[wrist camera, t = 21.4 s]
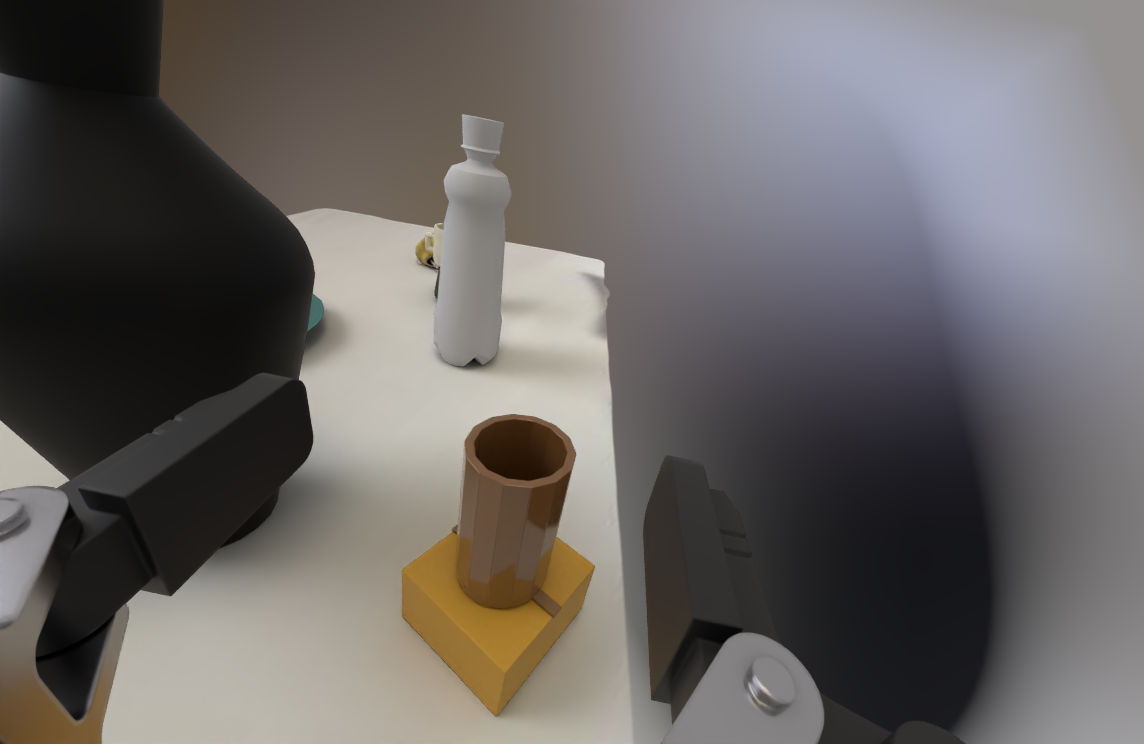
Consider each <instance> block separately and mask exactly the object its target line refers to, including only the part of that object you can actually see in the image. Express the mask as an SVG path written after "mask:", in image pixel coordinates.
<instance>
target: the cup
mask: <svg viewBox="0 0 1144 744" xmlns="http://www.w3.org/2000/svg"><path fill="white" fill-rule="evenodd" d="M575 457H576V452H575V449H574V447H573V444H572V442H571V439H570V438H569V437H568V436H567V435H566V434H565V433H564V432H563V431H562V430H560V429H559V428H558V427H557V426H556V425H554V424H552V423H549V422H547V421H544V420H542V419H539V418H537V417H533V416H525V415H517V414H510V415H503V416H496V417H492V418H489V419H487V420H485V421H484V422H482V423H480V424H478V425H476V426H475V427H474V428H473V429H472V431H471V432H470V434H469V435H468V437H467V438H466V440H465V443H464V455H463V467H462V480H461V492H460V505H459V517H458V530H457V542H456V554H455V555H456V564H455V571H456V576H457V580H458V582H459V584H460V586H461V588H462V589H463V591H464V592H465V593H466V594H467V595H468V596H469V597H470V598H472V599H473V600H474V601H476V602H478V603H480V604H482V605H485V606H488V607H494V608H509V607H514V606H517V605H520V604H522V603H524V602H526V601H528V600H529V599H531V598H532V597H533V596H534V595H535V594H536V593H537V592H538V591H539V590H540V589H541V587H542V585H543V584H544V581H545V579H546V575H547V571H548V568H549V564H550V560H551V556H552V552H553V547H554V543H555V539H556V535H557V531H558V527H559V523H560V519H561V515H562V511H563V507H564V502H565V498H566V494H567V490H568V486H569V482H570V478H571V474H572V470H573V466H574V461H575Z"/></svg>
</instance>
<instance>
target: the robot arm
mask: <svg viewBox="0 0 1144 744" xmlns="http://www.w3.org/2000/svg"><path fill="white" fill-rule="evenodd" d="M312 445H313V431H312V424H311V418H310V412H309V405H308V399H307V392H306V388H305V385H304V384H303V382H302V381H300V380H298V379H293V378H288V377H283V376H278V375H273V374H268V373H259V374H257V375H255V376H253V377H251V378H250V379H248V380H247V381H245V382H244V383H242V384H240V385H239V386H237V387H236V388H234V389H232V390H229V391H227V392H224V393H221V394H218V395H215V396H213V397H210V398H207V399H204V400H201V401H199V402H197V403H196V404H194V405H193V406H191V407H189V408H188V409H186V410H184V411H183V412H181V413H179V414H178V415H176V416H175V418H174V420H168V421H166V422H165V423H163V424H161V425H160V426H158V427H157V428H155V429H153V433H147V434H145V435H143V436H142V437H140V438H139V439H137V440H135V441H134V442H132V443H130V444H129V445H127V446H126V447H124V448H122V449H121V450H119V451H117V452H116V453H114V454H112V455H111V456H109V457H108V458H106V459H104V460H103V461H101V462H99V463H98V464H96V465H94V466H93V467H91V468H90V469H88V470H86V471H85V472H83V473H81V474H80V475H78V476H76V477H75V478H73V479H72V480H70V481H68V482H67V483H65V484H63V485H62V486H60V487H58V488H53V487H47V486H28V487H20V488H13V489H8V490H4V491H0V744H102V726H103V721H104V717H105V713H106V709H107V704H108V700H109V696H110V692H111V688H112V684H113V680H114V676H115V672H116V668H117V664H118V659H119V655H120V651H121V647H122V643H123V639H124V635H125V631H126V627H127V623H128V619H129V608H128V606H127V604H126V603H127V602H128V601H129V600H130V599H131V598H132V597H133V596H134V595H135V594H136V593H137V592H138V591H140V590H143V591H148V592H153V593H158V594H162V595H167V596H172V595H173V594H174V593H175V592H176V591H177V590H178V589H179V588H180V587H181V586H182V585H183V584H184V583H185V582H186V581H187V580H188V579H189V578H190V577H191V576H192V575H193V574H194V573H195V572H196V571H197V570H198V569H199V568H200V567H201V566H202V565H203V564H204V563H205V562H206V561H207V560H208V559H209V558H210V557H211V556H212V555H213V554H214V553H215V552H216V551H217V550H218V549H219V548H220V547H221V546H222V545H223V544H224V543H225V542H226V541H227V540H228V539H229V538H230V537H231V536H232V535H233V534H234V533H235V532H236V531H237V530H238V529H239V528H240V527H241V526H242V525H243V524H244V523H245V522H246V521H247V520H248V519H249V518H250V517H251V516H252V515H253V514H254V513H255V512H256V511H257V510H258V509H259V508H260V507H261V506H262V505H263V504H264V503H265V502H266V501H267V500H268V499H269V498H270V497H271V496H272V495H273V494H274V493H275V492H276V491H277V490H278V489H279V488H280V487H281V486H282V485H283V483H284V482H285V481H286V480H287V479H288V478H289V477H290V476H291V475H292V474H293V473H294V472H295V471H296V470H297V469H298V468H299V467H300V466H301V465H302V464H303V463H304V462H305V461H306V459H307V458H308V456H309V454H310V451H311V449H312ZM643 539H644V561H645V580H646V581H645V582H646V602H647V623H648V642H649V643H648V644H649V665H650V686H651V700H654V701H658V702H663V703H668V704H671V715H672V727H671V728H670V730H669V732H668V733H667V735H666V736H665V738H664V740H663V741H662V742H661V744H965V743H964V742H963V741H961V740H960V739H959V738H957V737H956V736H954V735H953V734H951V733H949V732H948V731H946V730H944V729H942V728H940V727H938V726H936V725H933V724H930V723H927V722H922V721H909V722H906V723H904V724H903V725H901V726H900V727H899V728H898V729H897V730H896V731H894V732H893V733H890V732H889V731H887V730H885V729H883V728H881V727H879V726H878V725H876V724H874V723H872V722H870V721H868V720H866V719H865V718H863V717H861V716H859V715H857V714H856V713H854V712H852V711H850V710H848V709H846V708H844V707H843V706H841V705H839V704H837V703H835V702H834V701H832V700H830V699H829V698H827V697H826V696H824V695H823V694H822V693H820V692H819V691H818V689H817V687H816V685H815V682H814V681H813V679H812V677H811V676H810V674H809V672H808V671H807V670H806V669H805V667H804V666H803V665H802V663H801V662H800V661H799V660H798V659H797V658H796V657H795V656H794V655H793V654H792V653H791V652H789V650H787V649H786V648H785V647H783V646H782V645H781V644H780V641H779V639H778V636H777V633H776V630H775V626H774V623H773V620H772V616H771V613H770V610H769V607H768V604H767V601H766V597H765V594H764V591H763V587H762V584H761V581H760V578H759V574H758V571H757V568H756V565H755V562H754V559H752V552H751V549H750V545H749V542H748V539H746V533H745V529H744V526H743V523H742V520H741V517H740V513H739V512H738V511H737V509H736V507H735V506H734V505H733V503H732V502H731V501H730V499H729V498H728V497H727V495H726V494H725V493H724V492H723V491H718V490H714V489H709V485H708V481H707V477H706V473H705V469H704V465H703V464H702V463H701V462H697V461H692V460H687V459H683V458H678V457H673V456H666V457H665V458H664V460H663V463H662V465H661V468H660V471H659V474H658V477H657V479H656V482H655V485H654V488H653V491H652V494H651V497H650V499H649V502H648V505H647V509H646V513H645V520H644V528H643Z"/></svg>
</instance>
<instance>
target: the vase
mask: <svg viewBox="0 0 1144 744" xmlns="http://www.w3.org/2000/svg"><path fill="white" fill-rule="evenodd" d="M163 1H164V0H0V420H1V421H2V422H3V423H4V424H5V425H6V426H8V427H9V428H10V429H11V430H12V431H13V432H15V433H16V434H17V435H18V436H19V437H20V438H22V439H23V440H24V441H25V442H26V443H27V444H29V445H30V446H31V447H32V448H33V449H34V450H35V451H37V452H38V453H39V454H40V455H41V456H42V457H44V458H45V459H46V460H47V461H48V462H49V463H51V464H52V465H53V466H54V467H55V468H56V469H58V470H59V471H60V472H61V473H62V474H63V475H65V476H66V477H67V478H68V479H69V480H72V479H73V478H75V477H76V476H78V475H80V474H81V473H83V472H85V471H86V470H88V469H90V468H91V467H93V466H94V465H96V464H98V463H99V462H101V461H103V460H104V459H106V458H108V457H109V456H111V455H112V454H114V453H116V452H117V451H119V450H121V449H122V448H124V447H126V446H127V445H129V444H130V443H132V442H134V441H135V440H137V439H139V438H140V437H142V436H143V435H145V434H147V433H153V429H155V428H157V427H158V426H160V425H161V424H163V423H165V422H166V421H168V420H174V418H175V416H176V415H178V414H179V413H181V412H183V411H184V410H186V409H188V408H189V407H191V406H193V405H194V404H196V403H197V402H199V401H201V400H204V399H207V398H210V397H213V396H215V395H218V394H221V393H224V392H227V391H229V390H232V389H234V388H236V387H237V386H239V385H240V384H242V383H244V382H245V381H247V380H248V379H250V378H251V377H253V376H255V375H257V374H259V373H268V374H273V375H278V376H283V377H288V378H293V379H298V380H299V375H300V369H301V364H302V358H303V352H304V347H305V341H306V335H307V330H308V324H309V317H310V309H311V302H312V294H313V286H314V278H315V271H314V265H313V260H312V257H311V255H310V252H309V249H308V247H307V245H306V242H305V241H304V239H303V237H302V236H301V234H300V232H299V231H298V229H297V228H296V227H295V226H294V225H293V224H292V222H291V221H290V220H289V219H288V218H287V217H286V216H285V215H284V214H283V213H282V212H281V211H280V210H279V209H278V208H277V207H276V206H275V205H273V204H272V203H271V202H270V201H269V200H268V199H267V198H266V197H264V196H263V195H262V194H261V193H259V192H258V191H257V190H256V189H255V188H254V187H253V186H251V185H250V184H249V183H248V182H247V181H246V180H244V179H243V178H242V177H241V176H240V175H239V174H237V173H236V172H235V171H234V170H233V169H232V168H231V167H230V166H229V165H227V164H226V163H225V162H224V161H223V160H222V159H221V158H220V157H219V156H218V155H217V154H216V153H215V152H214V151H213V150H212V149H210V147H208V146H207V145H206V144H205V143H204V142H203V141H202V140H201V139H200V138H199V137H198V136H197V135H196V134H195V133H194V132H193V131H192V130H191V129H190V128H189V127H188V126H187V125H186V124H185V123H184V122H183V121H182V120H181V119H180V118H179V117H178V116H177V115H176V114H175V113H174V112H173V111H172V110H171V109H170V108H169V107H168V106H167V105H166V103H164V101H163V100H162V99H161V98H160V97H159V79H160V59H161V40H162V20H163ZM278 493H279V489H278V490H277V491H276V492H275V493H274V494H273V495H272V496H271V497H270V498H269V499H268V500H267V501H266V502H265V503H264V504H263V505H262V506H261V507H260V508H259V509H258V510H257V511H256V512H255V513H254V514H253V515H252V516H251V517H250V518H249V519H248V520H247V521H246V522H245V523H244V524H243V525H242V526H241V527H240V528H239V529H238V530H237V531H236V532H235V533H234V534H233V535H232V536H231V537H230V538H229V539H228V540H227V541H226V542H225V543H224V544H223V545H222V546H221V547H224V546H226V545H228V544H230V543H233V542H235V541H237V540H240V539H241V538H243V537H244V536H246V535H247V534H249V533H250V532H252V531H253V530H255V529H256V528H258V527H259V526H260V525H261V524H262V523H263V522H264V521H265V520H266V519H267V518H268V517H269V516H270V515H271V513H272V511H273V509H274V507H275V505H276V503H277V498H278ZM221 547H220V548H221Z"/></svg>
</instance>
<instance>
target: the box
mask: <svg viewBox="0 0 1144 744" xmlns="http://www.w3.org/2000/svg"><path fill="white" fill-rule="evenodd" d="M457 530H458V525H456V526H455V527H454V528H452V531H453V532H452V533H451V534H450V535H448V536H447V537H446V538H444V539H443V540H442V541H440V542H439V543H438V544H436V545H435V546H433V547H432V548H431V549H429V550H428V551H427V552H425V553H424V554H423V555H421V556H420V557H419V558H417V559H416V560H414V561H413V562H412V563H410V564H409V565H408V566H406V567H405V568H404V569H402V616H403V617H404V618H405V619H406V620H407V621H408V622H409V624H410V625H411V626H412V627H413V628H414V629H415V630H416V631H417V632H418V633H419V634H420V635H421V636H422V638H423V639H424V640H425V641H426V642H427V643H428V644H429V645H430V646H431V647H432V648H433V649H434V650H435V652H436V653H437V654H438V655H439V656H440V657H441V658H442V659H443V660H444V661H445V662H446V663H447V664H448V666H449V667H450V668H451V669H452V670H453V671H454V672H455V673H456V674H457V675H458V676H459V677H460V678H461V679H462V681H463V682H464V683H465V684H466V685H467V686H468V687H469V688H470V689H471V690H472V691H473V692H474V693H475V695H476V696H477V697H478V698H479V699H480V700H481V701H482V702H483V703H484V704H485V705H486V706H487V707H488V709H489V710H490V711H491V712H492V713H493V714H494V715H495V716H497V715H498V714H499V713H500V712H501V710H502V709H503V708H504V707H505V705H506V704H507V703H508V701H509V700H510V699H511V698H512V696H513V695H514V694H515V693H516V691H517V690H518V689H519V687H520V686H521V685H522V684H523V682H524V681H525V680H526V679H527V677H528V676H529V675H530V673H531V672H532V671H533V670H534V668H535V667H536V666H537V665H538V663H539V662H540V661H541V659H542V658H543V657H544V656H545V654H546V653H547V652H548V651H549V649H550V648H551V647H552V645H553V644H554V643H555V642H556V640H557V639H558V638H559V637H560V635H561V634H562V633H563V631H564V630H565V629H566V628H567V626H568V625H569V624H570V623H571V621H572V620H573V619H574V617H575V616H576V615H577V614H578V612H579V611H580V610H581V608H582V605H583V602H584V599H585V596H586V593H587V590H588V587H589V584H590V581H591V577H592V574H593V571H594V568H595V566H594V565H593V564H592V563H591V562H589V561H588V560H587V559H585V558H584V557H583V556H581V555H580V554H579V553H577V552H576V551H575V550H573V549H572V548H571V547H569V546H568V545H567V544H565V543H564V542H563V541H561V540H560V539H559V538H557V537H556V539H555V543H554V547H553V552H552V556H551V560H550V564H549V568H548V571H547V575H546V579H545V581H544V584H543V585H542V587H541V589H540V590H539V591H538V592H537V593H536V594H535V595H534V596H533V597H532V598H531V599H529V600H528V601H526V602H524V603H522V604H520V605H517V606H514V607H509V608H494V607H488V606H485V605H482V604H480V603H478V602H476V601H474V600H473V599H472V598H470V597H469V596H468V595H467V594H466V593H465V592H464V591H463V589H462V588H461V586H460V584H459V582H458V580H457V576H456V571H455V564H456V555H455V554H456V542H457Z"/></svg>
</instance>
